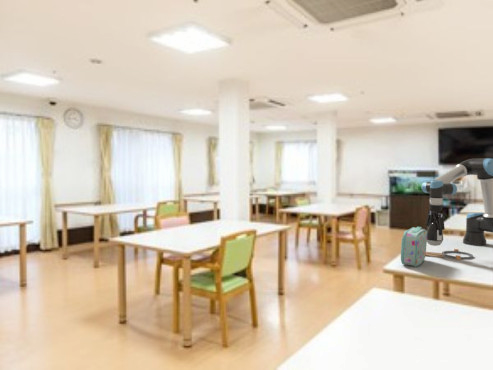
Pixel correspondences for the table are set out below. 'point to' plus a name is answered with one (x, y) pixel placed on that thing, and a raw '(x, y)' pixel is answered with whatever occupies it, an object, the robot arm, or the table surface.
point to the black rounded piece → (433, 235)
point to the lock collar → (457, 255)
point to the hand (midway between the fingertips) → (434, 238)
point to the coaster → (434, 254)
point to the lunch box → (414, 246)
